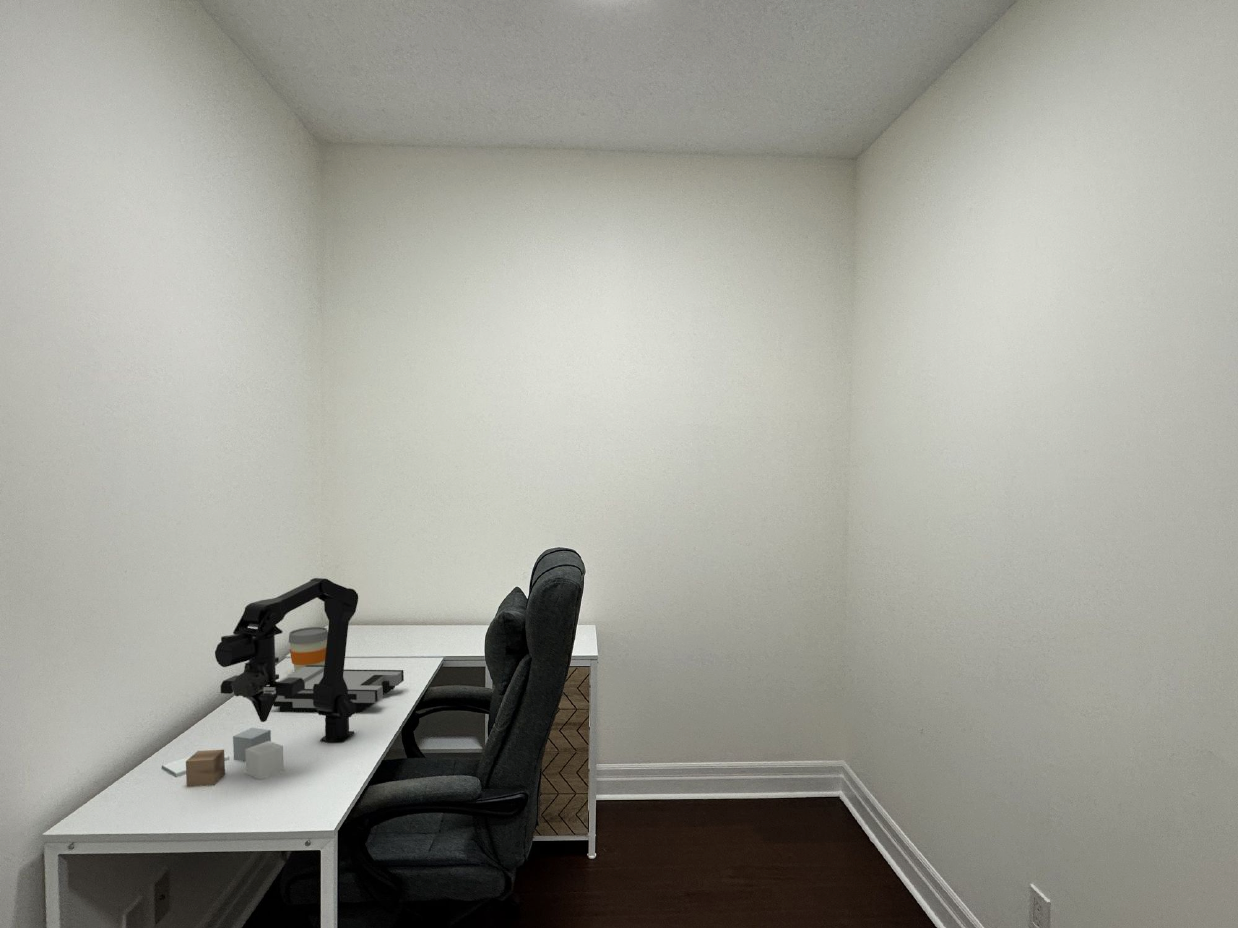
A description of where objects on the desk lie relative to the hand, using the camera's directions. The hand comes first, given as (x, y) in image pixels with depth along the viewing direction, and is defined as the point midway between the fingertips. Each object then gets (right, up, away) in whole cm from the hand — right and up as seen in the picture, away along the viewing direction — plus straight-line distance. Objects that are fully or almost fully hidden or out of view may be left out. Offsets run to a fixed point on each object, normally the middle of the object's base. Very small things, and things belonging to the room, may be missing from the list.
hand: (263, 721), depth 183 cm
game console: (0, -11, +50) cm, 51 cm away
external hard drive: (-19, -13, +6) cm, 24 cm away
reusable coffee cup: (-20, -11, +78) cm, 81 cm away
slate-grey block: (-7, -12, +10) cm, 17 cm away
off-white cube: (0, -12, 0) cm, 12 cm away
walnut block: (-12, -13, -4) cm, 18 cm away
